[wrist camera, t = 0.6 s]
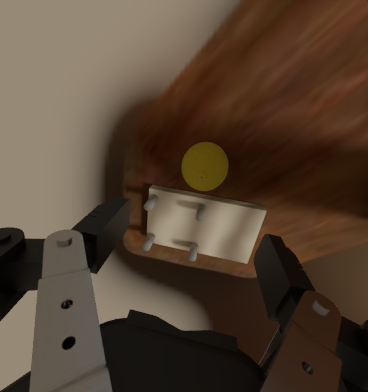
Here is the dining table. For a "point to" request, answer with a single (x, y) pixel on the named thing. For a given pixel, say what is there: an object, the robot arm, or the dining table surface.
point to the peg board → (202, 223)
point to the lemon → (205, 166)
